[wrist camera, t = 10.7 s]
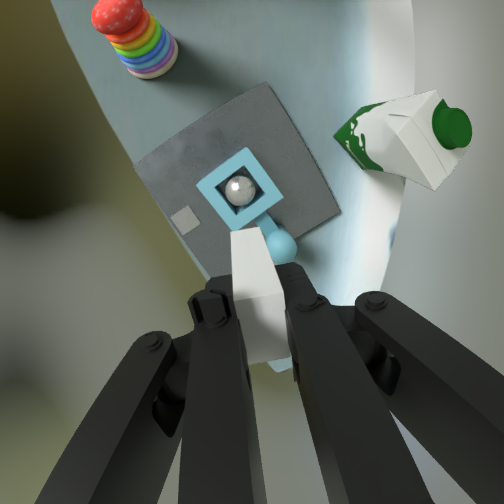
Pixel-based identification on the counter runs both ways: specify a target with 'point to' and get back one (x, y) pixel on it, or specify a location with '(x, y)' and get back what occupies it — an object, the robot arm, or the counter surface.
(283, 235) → the blue handled square frame
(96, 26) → the stacking toy
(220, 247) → the post plate
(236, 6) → the counter surface
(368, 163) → the milk carton
